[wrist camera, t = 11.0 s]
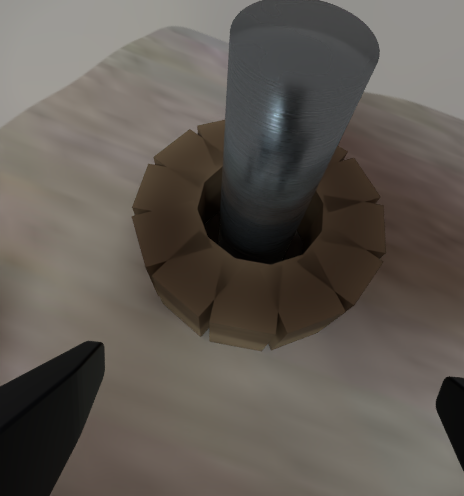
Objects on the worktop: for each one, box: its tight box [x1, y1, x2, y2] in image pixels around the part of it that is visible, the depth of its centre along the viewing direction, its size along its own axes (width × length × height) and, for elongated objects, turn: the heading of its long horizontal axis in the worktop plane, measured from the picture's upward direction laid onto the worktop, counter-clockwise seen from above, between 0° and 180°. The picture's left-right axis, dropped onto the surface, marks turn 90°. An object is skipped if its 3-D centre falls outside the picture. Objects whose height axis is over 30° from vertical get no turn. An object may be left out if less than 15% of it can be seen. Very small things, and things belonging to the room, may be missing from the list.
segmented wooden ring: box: [132, 120, 386, 351], centre depth 18 cm, size 12×12×4 cm
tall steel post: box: [219, 0, 380, 265], centre depth 14 cm, size 4×4×12 cm
